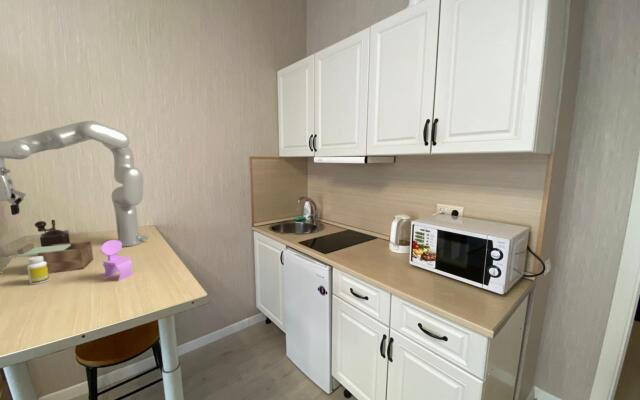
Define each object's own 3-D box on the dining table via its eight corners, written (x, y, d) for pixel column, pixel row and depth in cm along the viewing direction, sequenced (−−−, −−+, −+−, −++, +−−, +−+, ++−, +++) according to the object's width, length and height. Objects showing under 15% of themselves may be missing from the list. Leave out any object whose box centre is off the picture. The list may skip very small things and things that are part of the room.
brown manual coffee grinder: (42, 251, 140) (36, 216, 137) (71, 246, 147) (66, 213, 144) (39, 260, 128) (33, 222, 125) (71, 254, 136) (66, 219, 133)
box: (93, 259, 130) (90, 241, 128) (83, 269, 119) (80, 249, 117) (55, 263, 124) (52, 244, 123) (40, 274, 114) (37, 253, 112)
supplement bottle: (52, 279, 109) (48, 256, 107) (35, 285, 104) (30, 261, 102) (44, 277, 111) (40, 254, 109) (26, 283, 106) (22, 259, 104)
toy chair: (116, 282, 107) (111, 245, 104) (100, 279, 110) (95, 243, 107) (136, 273, 115) (132, 239, 112) (120, 271, 117) (116, 237, 115)
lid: (70, 245, 124) (69, 239, 124) (61, 252, 116) (60, 246, 116) (29, 249, 119) (28, 243, 119) (16, 256, 111) (15, 250, 110)
